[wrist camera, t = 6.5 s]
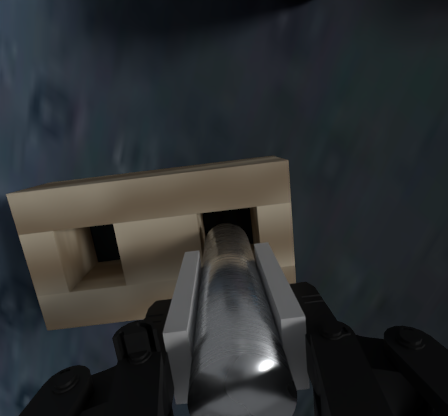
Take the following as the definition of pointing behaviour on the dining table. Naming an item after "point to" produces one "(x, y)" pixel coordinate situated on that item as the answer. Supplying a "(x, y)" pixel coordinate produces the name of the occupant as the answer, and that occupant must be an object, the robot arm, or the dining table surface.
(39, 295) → the hole block
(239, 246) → the pin
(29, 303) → the dining table surface
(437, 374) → the robot arm
